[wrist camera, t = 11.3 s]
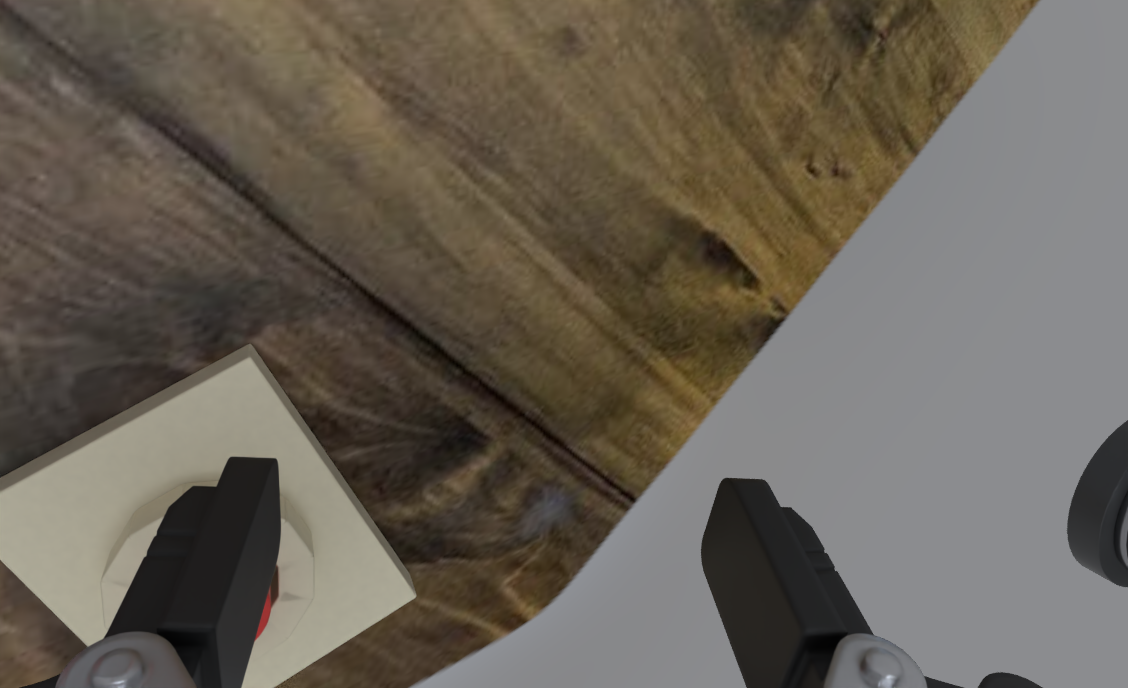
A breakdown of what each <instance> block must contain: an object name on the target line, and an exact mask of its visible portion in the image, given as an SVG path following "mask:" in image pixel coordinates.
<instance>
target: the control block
mask: <svg viewBox="0 0 1128 688" xmlns="http://www.w3.org/2000/svg"><path fill="white" fill-rule="evenodd" d="M232 456H233V457H258V458H276V459H277V461H278V467H279V488H280V511H281V539H280V548H279V554H278V559H277V563H276V567H275V570H274V574H273V577H272V581H271V613H270V617H269V620H268V623H267V625H266V627H265V629H264V631H263V632H262V633H261V635H260V636H259V637H258V638H257V639H256V640H255V642H254V645H253V648H252V652H251V655H250V659H249V662H248V666H247V669H246V673H245V677H244V680H243V684H242V687H241V688H274V687H275V686H277V685H279V684H280V683H282V682H283V681H285V680H287V679H288V678H290V677H291V676H293V675H294V674H296V673H298V672H299V671H301V670H302V669H304V668H305V667H307V666H309V665H310V664H312V663H313V662H315V661H316V660H318V659H320V658H321V657H323V656H324V655H326V654H328V653H329V652H331V651H332V650H334V649H335V648H337V647H339V646H340V645H342V644H343V643H345V642H346V641H348V640H350V639H351V638H353V637H354V636H356V635H358V634H359V633H361V632H362V631H364V630H365V629H367V628H369V627H370V626H372V625H373V624H375V623H376V622H378V621H380V620H381V619H383V618H384V617H386V616H387V615H389V614H391V613H392V612H394V611H395V610H397V609H399V608H400V607H402V606H403V605H405V604H406V603H408V602H410V601H411V600H413V599H414V598H416V592H415V589H414V586H413V583H412V580H411V577H410V574H409V572H408V571H407V569H406V568H405V566H404V565H403V563H402V562H401V561H400V559H399V558H398V556H397V555H396V553H395V552H394V550H393V549H392V548H391V546H390V545H389V543H388V542H387V540H386V539H385V537H384V536H383V534H382V533H381V532H380V530H379V529H378V527H377V526H376V524H375V523H374V521H373V520H372V518H371V517H370V516H369V514H368V513H367V511H366V510H365V508H364V507H363V505H362V504H361V503H360V501H359V500H358V498H357V497H356V495H355V494H354V492H353V491H352V489H351V488H350V487H349V485H348V484H347V482H346V481H345V479H344V478H343V476H342V475H341V473H340V472H339V471H338V469H337V468H336V466H335V465H334V463H333V462H332V460H331V459H330V458H329V456H328V455H327V453H326V452H325V450H324V449H323V447H322V446H321V444H320V443H319V442H318V440H317V439H316V437H315V436H314V434H313V433H312V431H311V430H310V428H309V427H308V426H307V424H306V423H305V421H304V420H303V418H302V417H301V415H300V414H299V413H298V411H297V410H296V408H295V407H294V405H293V404H292V402H291V401H290V399H289V398H288V397H287V395H286V394H285V392H284V391H283V389H282V388H281V386H280V385H279V383H278V382H277V381H276V379H275V378H274V376H273V375H272V373H271V372H270V370H269V369H268V368H267V366H266V365H265V363H264V362H263V360H262V359H261V357H260V356H259V354H258V353H257V352H256V350H255V349H254V347H253V346H252V345H251V344H248V345H246V346H244V347H242V348H240V349H238V350H236V351H235V352H233V353H231V354H229V355H227V356H225V357H223V358H222V359H220V360H218V361H216V362H214V363H212V364H210V365H209V366H207V367H205V368H203V369H201V370H199V371H197V372H196V373H194V374H192V375H190V376H188V377H186V378H184V379H183V380H181V381H179V382H177V383H175V384H173V385H171V386H170V387H168V388H166V389H164V390H162V391H160V392H158V393H157V394H155V395H153V396H151V397H149V398H147V399H145V400H144V401H142V402H140V403H138V404H136V405H134V406H132V407H131V408H129V409H127V410H125V411H123V412H121V413H119V414H118V415H116V416H114V417H112V418H110V419H108V420H106V421H105V422H103V423H101V424H99V425H97V426H95V427H93V428H92V429H90V430H88V431H86V432H84V433H82V434H80V435H79V436H77V437H75V438H73V439H71V440H69V441H67V442H66V443H64V444H62V445H60V446H58V447H56V448H54V449H53V450H51V451H49V452H47V453H45V454H43V455H42V456H40V457H38V458H36V459H34V460H32V461H30V462H29V463H27V464H25V465H23V466H21V467H19V468H17V469H16V470H14V471H12V472H10V473H8V474H6V475H4V476H3V477H1V478H0V560H1V561H2V562H3V563H4V564H5V565H6V566H7V567H8V568H9V569H10V570H11V571H12V572H13V573H14V574H15V575H16V576H17V577H18V578H19V579H20V580H21V581H22V582H23V583H24V584H25V585H26V586H27V587H28V588H29V589H30V590H31V591H32V592H33V593H34V594H35V595H36V596H37V597H38V598H39V599H40V600H41V601H42V602H43V603H44V604H45V605H46V606H47V607H48V608H49V609H50V610H51V611H52V612H53V613H54V614H55V615H56V616H57V617H58V618H59V619H60V620H61V621H62V622H63V623H65V624H66V625H67V626H68V627H69V628H70V629H71V630H72V631H73V632H74V633H75V634H76V635H77V636H78V637H79V638H80V639H81V640H82V641H83V642H84V643H85V644H86V645H87V646H90V645H92V644H94V643H96V642H97V641H99V640H102V639H103V638H104V637H105V635H106V633H107V632H108V629H109V627H110V625H111V623H112V621H113V619H114V617H115V615H116V613H117V611H118V609H119V607H120V605H121V603H122V601H123V599H124V597H125V595H126V593H127V591H128V589H129V587H130V585H131V583H132V581H133V579H134V577H135V575H136V572H137V570H138V568H139V566H140V564H141V562H142V560H143V558H144V557H146V555H147V550H148V548H149V546H150V544H151V542H152V540H153V538H154V536H156V535H157V530H158V528H159V526H160V524H161V522H162V520H163V518H164V515H165V513H166V511H167V509H168V507H169V506H170V505H171V504H172V503H174V502H175V501H176V500H177V499H178V498H179V497H180V496H182V495H183V494H184V493H185V492H186V491H187V490H189V489H190V488H191V487H192V486H215V487H216V486H217V484H218V481H219V479H220V477H221V474H222V472H223V469H224V467H225V465H226V463H227V460H228V459H229V458H230V457H232Z"/></svg>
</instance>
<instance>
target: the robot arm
mask: <svg viewBox="0 0 1128 688" xmlns="http://www.w3.org/2000/svg"><path fill="white" fill-rule="evenodd" d="M280 539H281V511H280V488H279V467H278V461H277V459H276V458H258V457H233V456H232V457H230V458H229V459H228V460H227V463H226V465H225V467H224V469H223V472H222V474H221V477H220V479H219V481H218V484H217V486H216V487H215V486H192V487H191V488H190V489H189V490H187V491H186V492H185V493H184V494H183V495H182V496H180V497H179V498H178V499H177V500H176V501H175V502H174V503H172V504H171V505H170V506H169V507H168V509H167V511H166V513H165V515H164V518H163V520H162V522H161V524H160V526H159V528H158V530H157V535H156V536H154V538H153V540H152V542H151V544H150V546H149V548H148V550H147V555H146V557H144V558H143V560H142V562H141V564H140V566H139V568H138V570H137V572H136V575H135V577H134V579H133V581H132V583H131V585H130V587H129V589H128V591H127V593H126V595H125V597H124V599H123V601H122V603H121V605H120V607H119V609H118V611H117V613H116V615H115V617H114V619H113V621H112V623H111V625H110V627H109V629H108V632H107V633H106V635H105V637H104V638H103V639H102V640H99V641H97V642H96V643H94V644H92V645H90V646H88V647H87V648H85V649H84V650H82V651H81V652H80V653H79V654H77V655H76V656H75V657H74V658H73V659H72V660H71V661H70V662H69V663H68V664H67V665H66V667H65V668H64V670H63V671H62V672H61V674H59V675H57V676H55V677H52V678H50V679H47V680H45V681H42V682H38V683H35V684H32V685H28V686H24V687H20V688H241V687H242V684H243V680H244V677H245V673H246V669H247V666H248V662H249V659H250V655H251V652H252V648H253V645H254V641H255V638H256V634H257V631H258V627H259V623H260V620H261V616H262V613H263V609H264V606H265V602H266V599H267V595H268V592H269V588H270V585H271V581H272V577H273V574H274V570H275V567H276V563H277V559H278V554H279V548H280ZM1114 545H1115V551H1116V555H1117V557H1118V559H1119V561H1120V562H1121V564H1122V565H1123V566H1125V567H1126V568H1128V493H1127V495H1126V497H1125V499H1124V501H1123V504H1122V506H1121V509H1120V511H1119V515H1118V518H1117V522H1116V527H1115V534H1114ZM701 558H702V566H703V570H704V573H705V576H706V579H707V582H708V584H709V587H710V590H711V592H712V595H713V598H714V601H715V603H716V606H717V608H718V611H719V614H720V617H721V619H722V622H723V625H724V627H725V630H726V633H727V636H728V638H729V641H730V644H731V646H732V649H733V651H734V654H735V657H736V660H737V663H738V665H739V668H740V671H741V673H742V676H743V679H744V681H745V684H746V687H747V688H963V687H960V686H955V685H952V684H949V683H945V682H942V681H938V680H935V679H931V678H929V677H925V676H924V675H923V673H922V671H921V670H920V668H919V667H918V665H917V664H916V662H915V661H914V660H913V659H912V658H911V657H910V656H909V655H908V654H907V653H906V652H904V651H903V650H902V649H901V648H899V647H898V646H896V645H895V644H893V643H891V642H890V641H888V640H885V639H883V638H881V637H878V636H875V635H874V634H873V633H872V631H871V629H870V627H869V626H868V624H867V622H866V621H865V619H864V617H863V615H862V614H861V612H860V610H859V608H858V606H857V605H856V603H855V601H854V600H853V598H852V596H851V594H850V593H849V591H848V589H847V588H846V586H845V584H844V582H843V580H842V579H841V577H840V575H839V573H838V572H837V571H835V570H834V565H833V563H832V561H831V560H830V558H829V556H828V554H827V553H824V547H823V545H822V544H821V542H820V540H819V538H818V537H817V535H816V533H815V531H814V530H813V528H812V527H811V526H810V525H809V524H808V523H807V522H806V521H805V520H804V519H802V517H800V516H799V515H798V514H797V513H796V512H795V511H794V510H793V509H792V508H790V507H789V508H788V507H780V505H779V503H778V501H777V500H776V497H775V496H774V494H773V492H772V490H771V488H770V486H769V485H768V483H767V482H766V481H765V480H762V479H740V478H739V479H738V478H725V479H723V480H722V481H721V483H720V485H719V488H718V491H717V494H716V497H715V500H714V504H713V507H712V510H711V513H710V516H709V519H708V523H707V526H706V529H705V532H704V535H703V540H702V547H701ZM978 688H1042V687H1040V686H1039V685H1037V684H1035V683H1034V682H1032V681H1030V680H1028V679H1026V678H1023V677H1020V676H1018V675H1014V674H1010V673H1003V672H1001V673H993V674H989V675H988V676H986V677H985V678H984V679H983V680H982V682H981V683H980V685H979V686H978Z"/></svg>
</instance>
